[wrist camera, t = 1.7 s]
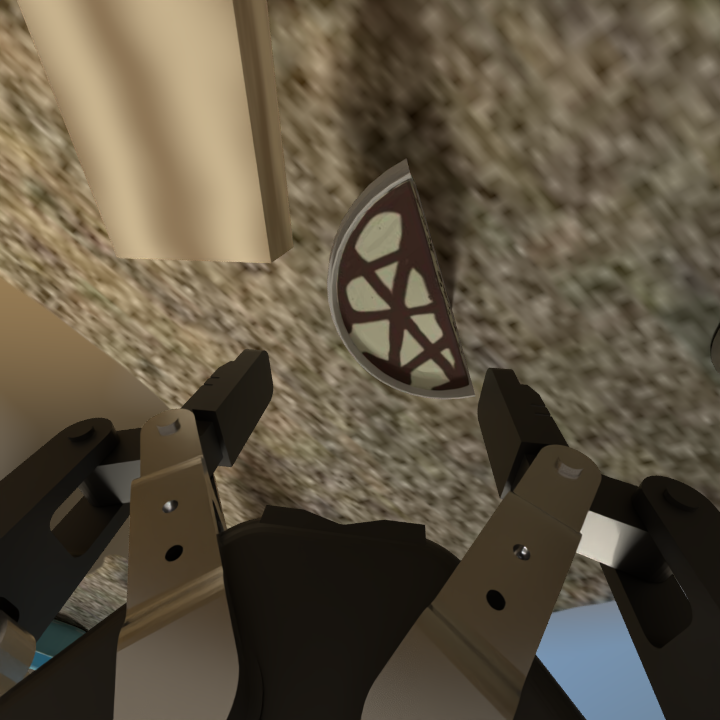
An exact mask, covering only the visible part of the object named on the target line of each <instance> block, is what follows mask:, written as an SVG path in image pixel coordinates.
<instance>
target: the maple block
mask: <svg viewBox="0 0 720 720" xmlns="http://www.w3.org/2000/svg"><path fill="white" fill-rule="evenodd" d="M17 1H18V4H19V6H20V9H21V11H22V14H23V17H24V19H25V22H26V24H27V27H28V29H29V32H30V35H31V37H32V40H33V42H34V45H35V47H36V50H37V53H38V55H39V58H40V60H41V63H42V65H43V68H44V71H45V73H46V76H47V78H48V81H49V83H50V86H51V89H52V91H53V94H54V96H55V99H56V101H57V104H58V107H59V109H60V112H61V114H62V117H63V120H64V122H65V125H66V127H67V130H68V132H69V135H70V138H71V140H72V143H73V145H74V148H75V150H76V153H77V156H78V158H79V161H80V163H81V166H82V168H83V171H84V174H85V176H86V179H87V181H88V184H89V186H90V189H91V192H92V194H93V197H94V199H95V202H96V204H97V207H98V210H99V212H100V215H101V217H102V220H103V222H104V225H105V228H106V230H107V233H108V235H109V238H110V240H111V243H112V246H113V248H114V251H115V253H116V256H117V258H135V259H165V260H195V261H226V262H256V263H272V262H273V261H275V260H276V259H277V258H279V257H280V256H282V255H283V254H285V253H286V252H287V251H289V250H290V249H292V248H293V237H292V228H291V219H290V210H289V200H288V191H287V182H286V173H285V163H284V154H283V145H282V135H281V126H280V117H279V108H278V98H277V89H276V80H275V71H274V61H273V52H272V43H271V34H270V24H269V15H268V6H267V0H17Z"/></svg>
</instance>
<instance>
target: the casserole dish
mask: <svg viewBox="0 0 720 720" xmlns="http://www.w3.org/2000/svg"><path fill="white" fill-rule="evenodd" d="M85 633H86V632H85V631H83V630H81V629H79V628H77V627H75V626H72V625H69V624H67V623H64V622H61V621H58V620H55V619H53V621H52V622H51V623H50V625H49V626H48V627H47V629H46V630H45V632H44V633H43V634H42V636H41V637H40V638H39V640H38V641H37V643H36V651H35V655H34V659H33V661H32V663H31V666H30V669H34V670H36V669H37V668H39V667H40V666H41V665H43V664H44V663H46V662H47V661H48V660H50V659H51V658H52V657H54V656H55V655H56V654H58V653H59V652H60V651H62V650H63V649H64V648H66V647H67V646H68V645H70V644H71V643H73V642H74V641H75V640H77V639H78V638H79V637H81V636H82V635H83V634H85Z"/></svg>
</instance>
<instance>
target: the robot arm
mask: <svg viewBox="0 0 720 720" xmlns="http://www.w3.org/2000/svg"><path fill="white" fill-rule="evenodd" d="M711 359H712V363H713V365H714V367H715V369H716V371H717V372H718V373H719V374H720V329H719V331H718V332H717V334H716V336H715V338H714V340H713V345H712V349H711ZM272 394H273V381H272V375H271V369H270V362H269V356H268V353H267V352H266V351H264V350H250V349H245V350H244V351H243V352H242V353H241V354H240V355H239V356H238V357H237V358H236V360H235V361H230V362H228V363H226V364H225V365H223V366H221V367H219V368H218V369H217V370H216V371H215V372H214V373H213V374H212V375H211V378H209V379H208V380H207V381H206V382H205V383H204V385H202V386H201V387H200V388H199V389H198V390H197V391H196V393H195V394H194V395H193V396H192V397H191V398H190V399H189V400H188V401H187V402H186V403H185V404H184V405H183V406H182V408H181V409H171V410H167V411H164V412H161V413H159V414H157V415H155V416H153V417H152V418H150V419H149V420H148V421H147V422H146V423H145V424H144V425H143V427H142V428H136V429H129V430H121V431H116V430H115V428H114V426H113V424H112V422H111V421H110V420H108V419H105V418H92V419H87V420H84V421H80V422H78V423H75V424H73V425H71V426H69V427H67V428H65V429H64V430H63V431H61V432H60V433H58V434H57V435H56V436H55V437H53V438H52V439H51V440H50V441H49V442H47V443H46V444H45V445H44V446H42V447H41V448H40V449H39V450H38V451H36V452H35V453H34V454H33V455H31V456H30V457H29V458H28V459H27V460H26V461H24V462H23V463H22V464H21V465H19V466H18V467H17V468H16V469H14V470H13V471H12V472H11V473H10V474H8V475H7V476H6V477H5V478H4V479H2V480H1V481H0V720H586V719H585V717H584V716H583V715H582V713H581V712H580V711H579V710H578V708H577V707H576V706H575V704H574V703H573V702H572V701H571V699H570V698H569V697H568V695H567V694H566V693H565V692H564V690H563V689H562V688H561V686H560V685H559V684H558V683H557V681H556V680H555V679H554V677H553V676H552V675H551V674H550V672H549V671H548V670H547V668H546V667H545V666H544V665H543V663H542V662H541V661H540V659H539V658H538V657H537V656H536V651H537V649H538V647H539V644H540V642H541V639H542V636H543V634H544V631H545V629H546V626H547V624H548V621H549V619H550V616H551V614H552V611H553V609H554V606H555V604H556V601H557V599H558V596H559V594H560V591H561V589H562V586H563V584H564V581H565V579H566V576H567V574H568V571H569V569H570V566H571V564H572V561H573V558H574V556H575V553H576V552H577V553H579V554H582V555H584V556H587V557H589V558H591V559H594V560H596V561H599V563H600V565H601V568H602V570H603V572H604V575H605V577H606V579H607V582H608V584H609V586H610V589H611V591H612V594H613V596H614V598H615V601H616V603H617V605H618V608H619V610H620V612H621V615H622V617H623V619H624V622H625V624H626V627H627V629H628V631H629V634H630V636H631V639H632V641H633V643H634V646H635V648H636V650H637V653H638V655H639V657H640V660H641V662H642V664H643V667H644V669H645V672H646V674H647V676H648V679H649V681H650V683H651V686H652V688H653V690H654V693H655V695H656V697H657V700H658V702H659V705H660V707H661V709H662V712H663V714H664V717H665V719H666V720H720V512H719V511H718V509H717V508H716V507H715V506H714V505H713V504H712V503H711V502H710V501H709V500H708V499H707V498H706V497H705V496H704V495H702V494H701V493H700V492H698V491H696V490H695V489H693V488H692V487H690V486H688V485H686V484H684V483H682V482H680V481H677V480H674V479H671V478H668V477H663V476H649V477H647V478H645V479H644V480H643V481H642V483H641V484H640V485H639V487H638V486H635V485H632V484H629V483H625V482H622V481H619V480H616V479H613V478H610V477H607V476H605V475H602V474H601V472H600V470H599V468H598V467H597V465H596V464H595V463H594V462H593V461H592V460H591V459H590V458H589V457H587V456H586V455H584V454H583V453H581V452H579V451H578V450H575V449H573V448H570V447H569V446H568V444H567V442H566V441H565V439H564V437H563V435H562V434H561V432H560V430H559V428H558V427H557V425H556V423H555V421H554V420H553V418H552V417H550V413H549V411H548V409H547V408H546V407H545V404H544V402H543V400H542V399H541V397H540V395H539V394H538V393H537V392H535V391H534V390H533V389H532V388H531V387H529V386H528V385H523V384H520V383H519V381H518V379H517V377H516V375H515V373H514V371H513V370H512V369H500V368H488V370H487V372H486V375H485V379H484V383H483V387H482V391H481V395H480V399H479V403H478V421H479V424H480V428H481V432H482V435H483V439H484V443H485V446H486V450H487V453H488V457H489V461H490V464H491V468H492V472H493V475H494V479H495V482H496V486H497V490H498V493H499V497H500V499H503V500H502V502H501V503H500V504H499V506H498V507H497V509H496V510H495V512H494V513H493V515H492V516H491V518H490V519H489V521H488V522H487V524H486V525H485V526H484V528H483V529H482V531H481V532H480V534H479V535H478V537H477V538H476V540H475V541H474V543H473V544H472V546H471V547H470V548H469V550H468V551H467V553H466V554H465V556H464V557H463V559H462V560H459V559H458V558H457V557H456V556H455V555H453V554H452V553H451V552H450V551H448V550H447V549H445V548H444V547H442V546H440V545H439V544H437V543H435V542H433V541H431V540H428V539H426V535H425V525H422V524H414V523H406V522H398V521H390V520H379V521H371V522H363V523H355V524H347V525H342V524H338V523H336V522H333V521H331V520H328V519H326V518H323V517H321V516H318V515H316V514H313V513H311V512H308V511H306V510H302V509H294V508H286V507H278V506H270V505H267V506H266V508H265V510H264V513H263V515H262V518H257V519H253V520H249V521H245V522H243V523H240V524H237V525H235V526H233V527H231V528H229V529H227V526H226V522H225V518H224V514H223V510H222V505H221V501H220V497H219V492H218V488H217V484H216V480H215V476H214V471H215V470H216V468H217V466H226V467H232V466H233V464H234V462H235V461H236V459H237V457H238V455H239V454H240V452H241V450H242V449H243V447H244V445H245V443H246V442H247V440H248V438H249V437H250V435H251V433H252V431H253V430H254V428H255V426H256V425H257V423H258V421H259V420H260V418H261V416H262V414H263V413H264V411H265V409H266V408H267V406H268V404H269V402H270V401H271V398H272ZM77 487H78V488H79V489H80V490H81V492H82V493H83V495H84V496H83V498H81V500H80V501H79V502H78V503H77V504H76V505H75V506H74V507H73V508H72V509H71V511H70V512H69V513H68V514H67V515H66V516H65V517H64V518H63V519H62V520H61V522H60V523H59V524H58V525H57V526H56V527H55V528H54V529H53V530H52V531H50V520H51V518H52V515H53V514H54V512H55V511H56V509H57V508H58V507H59V506H60V505H61V504H62V503H63V502H64V501H65V500H66V499H67V498H68V497H69V496H70V494H72V493H73V491H75V489H76V488H77ZM129 515H130V523H129V525H130V526H129V553H128V582H127V602H126V603H125V604H124V605H122V606H121V607H120V608H118V609H117V610H116V611H114V612H113V613H112V614H110V615H109V616H108V617H106V618H105V619H104V620H102V621H101V622H99V623H98V624H97V625H95V626H94V627H93V628H91V629H90V630H89V631H87V632H86V633H85V634H83V635H82V636H81V637H79V638H78V639H77V640H75V641H74V642H73V643H71V644H70V645H68V646H67V647H66V648H64V649H63V650H62V651H60V652H59V653H58V654H56V655H55V656H54V657H52V658H51V659H50V660H48V661H47V662H46V663H44V664H43V665H41V666H40V667H39V668H37V669H36V670H35V671H34V672H32V673H31V674H30V673H29V672H28V669H29V668H30V666H31V663H32V661H33V659H34V655H35V651H36V643H37V641H38V640H39V638H40V637H41V636H42V634H43V633H44V632H45V630H46V629H47V627H48V626H49V625H50V623H51V622H52V621H53V619H54V618H55V617H56V615H57V614H58V612H59V611H60V610H61V608H62V607H63V606H64V604H65V603H66V601H67V600H68V599H69V597H70V596H71V595H72V593H73V592H74V590H75V589H76V588H77V586H78V585H79V584H80V582H81V581H82V580H83V578H84V577H85V575H86V574H87V573H88V571H89V570H90V569H91V567H92V566H93V564H94V563H95V562H96V560H97V559H98V558H99V556H100V555H101V553H102V552H103V551H104V549H105V548H106V547H107V545H108V544H109V543H110V541H111V539H112V538H113V537H114V536H115V534H116V533H117V532H118V530H119V529H120V527H121V526H122V525H123V523H124V522H125V521H126V519H127V518H128V516H129ZM673 574H674V575H673ZM674 576H675V577H676V578H675V577H674ZM676 579H677V580H676ZM677 581H678V582H679V584H680V585H679V584H678V582H677ZM680 586H681V587H682V589H683V590H682V589H681V587H680ZM683 591H684V592H683ZM684 593H685V594H686V595H685V594H684ZM686 596H687V597H686ZM687 598H688V599H687Z"/></svg>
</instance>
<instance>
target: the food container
mask: <svg viewBox="0 0 720 720" xmlns="http://www.w3.org/2000/svg"><path fill="white" fill-rule="evenodd" d="M327 286H328V302H329V306H330V311H331V316H332V319H333V322H334V324H335V327H336V329H337V332H338V334H339V336H340V337H341V339H342V341H343V343H344V344H345V346H346V348H347V349H348V351H349V352H350V353H351V355H352V356H353V357H354V358H355V360H356V361H357V362H358V363H359V364H360V365H361V366H362V367H363V368H364V369H365V370H366V371H367V372H369V373H370V374H371V375H373V376H374V377H375V378H377V379H378V380H380V381H381V382H383V383H385V384H387V385H389V386H391V387H393V388H395V389H397V390H400V391H402V392H405V393H408V394H411V395H416V396H420V397H425V398H434V399H461V398H467V397H473V396H475V394H474V389H473V385H472V382H471V379H470V375H469V371H468V367H467V364H466V360H465V356H464V353H463V349H462V345H461V341H460V338H459V334H458V330H457V326H456V323H455V319H454V315H453V312H452V308H451V304H450V301H449V298H448V294H447V291H446V287H445V284H444V280H443V277H442V273H441V270H440V266H439V263H438V259H437V256H436V253H435V249H434V246H433V242H432V239H431V235H430V232H429V228H428V225H427V221H426V218H425V214H424V211H423V208H422V204H421V201H420V197H419V194H418V190H417V187H416V184H415V182H414V180H413V178H412V175H411V173H410V170H409V166H408V162H407V159H405V160H403V161H401V162H400V163H398V164H396V165H395V166H393V167H391V168H390V169H388V170H387V171H385V172H384V173H383V174H382V175H380V176H379V177H378V178H377V179H376V180H374V181H373V182H372V183H371V184H369V185H368V187H367V188H366V189H365V190H364V191H363V192H362V193H361V194H360V196H359V197H358V198H357V199H356V200H355V201H354V203H353V204H352V206H351V207H350V209H349V211H348V212H347V214H346V215H345V217H344V218H343V220H342V222H341V225H340V227H339V229H338V231H337V234H336V236H335V239H334V242H333V246H332V250H331V254H330V259H329V268H328V280H327Z"/></svg>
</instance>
